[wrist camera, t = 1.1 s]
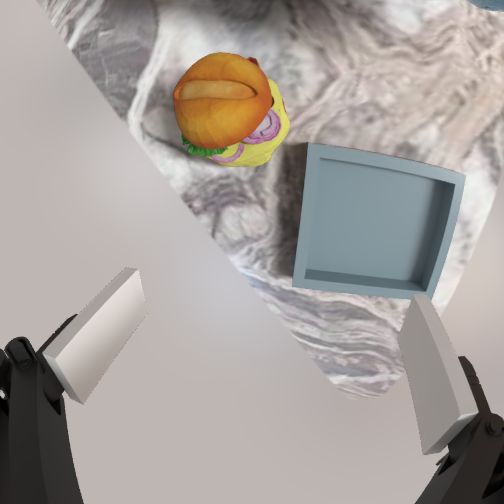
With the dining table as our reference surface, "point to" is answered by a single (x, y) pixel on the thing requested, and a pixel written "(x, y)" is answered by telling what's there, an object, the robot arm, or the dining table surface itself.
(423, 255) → the bin
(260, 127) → the cheeseburger
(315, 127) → the dining table surface
